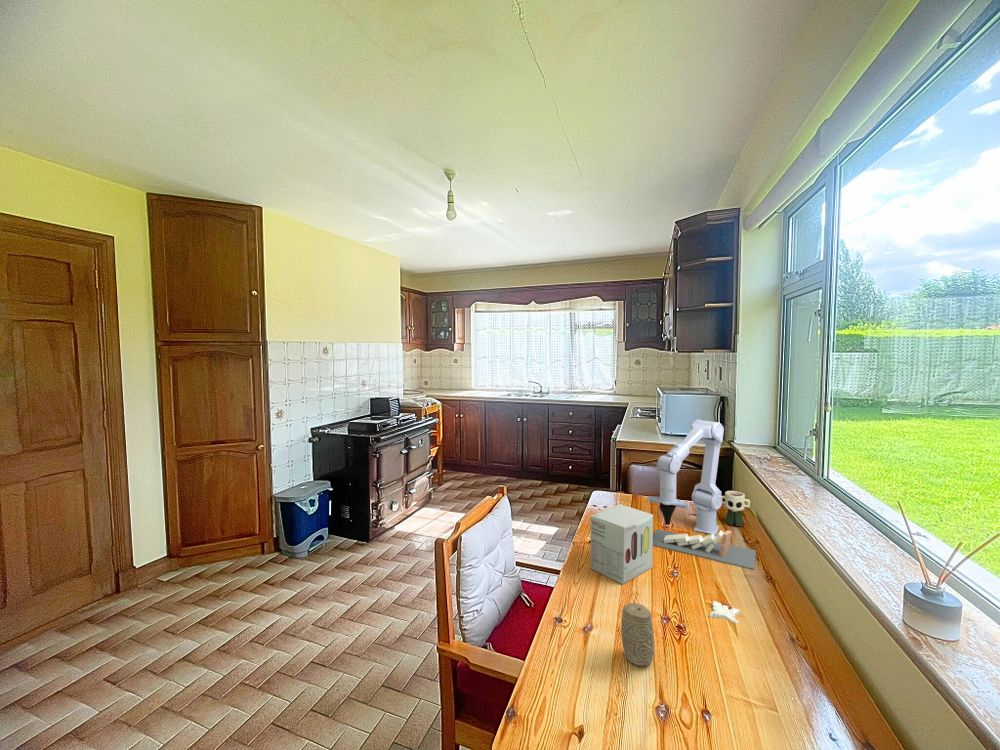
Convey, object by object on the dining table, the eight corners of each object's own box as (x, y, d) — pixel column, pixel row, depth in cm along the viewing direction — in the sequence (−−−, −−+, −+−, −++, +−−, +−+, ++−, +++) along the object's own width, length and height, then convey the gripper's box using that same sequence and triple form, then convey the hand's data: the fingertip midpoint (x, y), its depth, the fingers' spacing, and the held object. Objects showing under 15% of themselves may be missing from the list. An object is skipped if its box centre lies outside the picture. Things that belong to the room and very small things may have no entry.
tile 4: (707, 545, 150) (720, 530, 147) (710, 548, 150) (723, 532, 147) (705, 550, 146) (718, 534, 144) (708, 553, 146) (722, 537, 143)
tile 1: (666, 535, 158) (687, 533, 154) (667, 538, 158) (688, 536, 154) (663, 539, 154) (685, 538, 150) (664, 543, 154) (686, 541, 150)
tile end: (724, 550, 147) (728, 530, 146) (727, 552, 146) (731, 531, 145) (718, 554, 144) (722, 533, 143) (722, 556, 143) (726, 535, 142)
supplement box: (624, 586, 127) (624, 528, 126) (589, 569, 137) (589, 515, 136) (654, 567, 138) (654, 513, 137) (619, 552, 148) (620, 503, 147)
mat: (656, 530, 167) (656, 529, 167) (755, 551, 148) (756, 550, 148) (647, 544, 154) (647, 543, 154) (753, 569, 135) (753, 568, 135)
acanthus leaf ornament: (709, 619, 111) (709, 612, 111) (709, 605, 117) (709, 599, 117) (741, 627, 108) (741, 620, 108) (739, 612, 114) (739, 605, 114)
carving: (627, 644, 101) (627, 596, 100) (658, 658, 96) (658, 608, 96) (616, 659, 96) (616, 609, 95) (648, 675, 91) (649, 622, 91)
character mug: (719, 524, 171) (719, 493, 170) (719, 518, 177) (720, 489, 177) (749, 530, 166) (750, 498, 165) (749, 523, 172) (750, 493, 171)
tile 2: (679, 538, 155) (701, 534, 151) (680, 541, 155) (702, 537, 151) (677, 543, 152) (699, 539, 147) (678, 546, 151) (700, 542, 147)
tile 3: (693, 541, 153) (712, 533, 149) (695, 544, 152) (715, 536, 149) (691, 546, 149) (711, 537, 145) (693, 549, 149) (713, 541, 145)
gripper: (645, 487, 156) (645, 523, 156) (687, 494, 147) (686, 532, 148) (650, 482, 161) (649, 517, 162) (690, 489, 153) (690, 525, 154)
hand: (667, 523), depth 155 cm, fingers closed
